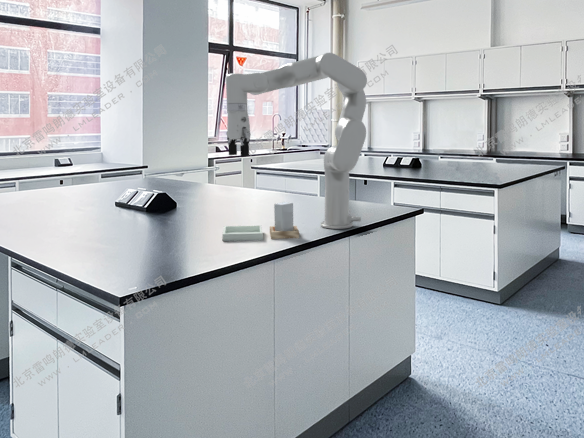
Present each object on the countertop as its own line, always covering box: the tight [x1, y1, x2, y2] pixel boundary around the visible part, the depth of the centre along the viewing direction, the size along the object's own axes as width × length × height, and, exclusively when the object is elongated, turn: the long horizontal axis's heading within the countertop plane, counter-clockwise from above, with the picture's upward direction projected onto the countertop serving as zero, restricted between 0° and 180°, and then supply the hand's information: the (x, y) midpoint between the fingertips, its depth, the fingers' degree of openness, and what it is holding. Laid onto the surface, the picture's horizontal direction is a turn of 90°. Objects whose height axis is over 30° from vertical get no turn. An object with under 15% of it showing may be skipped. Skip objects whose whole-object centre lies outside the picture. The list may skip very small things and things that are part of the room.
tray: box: [222, 225, 264, 242], centre depth 192 cm, size 14×14×2 cm
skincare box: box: [273, 201, 294, 231], centre depth 192 cm, size 6×4×12 cm
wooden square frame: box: [269, 225, 300, 240], centre depth 193 cm, size 10×10×2 cm
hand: (238, 155), depth 197 cm, fingers open, 9 cm apart
